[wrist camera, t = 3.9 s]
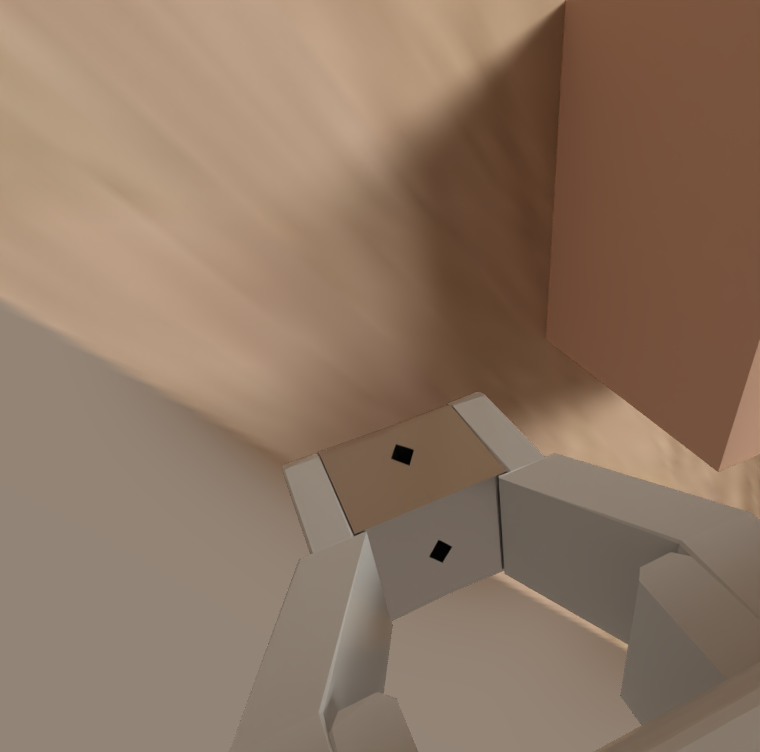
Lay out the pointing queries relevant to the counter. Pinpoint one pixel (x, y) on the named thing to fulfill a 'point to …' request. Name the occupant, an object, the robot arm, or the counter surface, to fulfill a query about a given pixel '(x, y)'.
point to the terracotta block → (663, 214)
